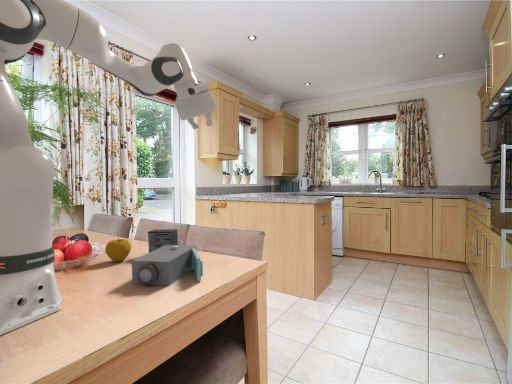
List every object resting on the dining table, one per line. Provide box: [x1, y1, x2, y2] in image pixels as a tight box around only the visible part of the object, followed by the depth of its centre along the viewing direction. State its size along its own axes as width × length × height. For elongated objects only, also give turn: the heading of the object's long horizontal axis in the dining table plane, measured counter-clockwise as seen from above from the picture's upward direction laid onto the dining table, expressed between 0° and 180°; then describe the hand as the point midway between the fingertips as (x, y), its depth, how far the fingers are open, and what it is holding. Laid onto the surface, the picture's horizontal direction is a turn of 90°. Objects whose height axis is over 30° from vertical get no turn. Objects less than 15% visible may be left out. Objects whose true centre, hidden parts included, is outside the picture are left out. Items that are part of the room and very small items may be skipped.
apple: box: [104, 238, 132, 263], centre depth 104 cm, size 9×9×9 cm
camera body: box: [131, 244, 198, 287], centre depth 87 cm, size 22×12×8 cm, turn 169°
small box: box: [147, 228, 179, 253], centre depth 113 cm, size 11×6×10 cm, turn 84°
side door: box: [192, 248, 204, 282], centre depth 87 cm, size 14×2×7 cm, turn 19°
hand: (203, 127), depth 105 cm, fingers open, 8 cm apart
